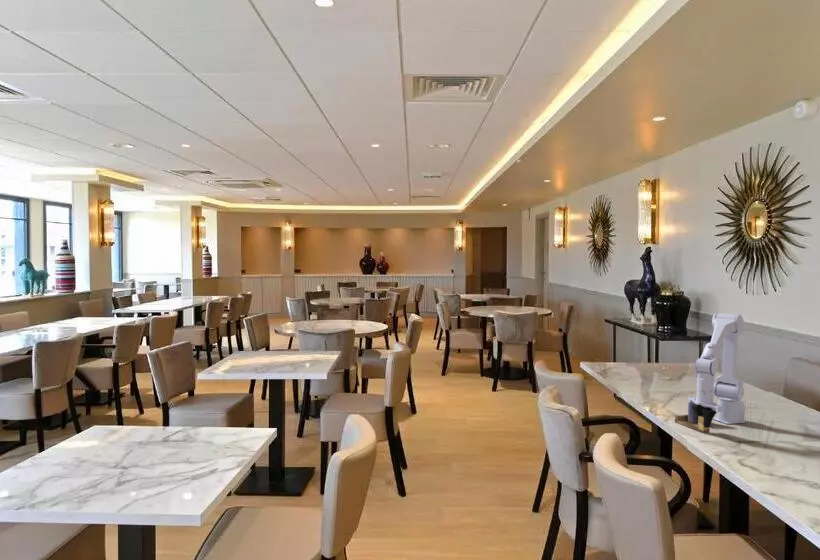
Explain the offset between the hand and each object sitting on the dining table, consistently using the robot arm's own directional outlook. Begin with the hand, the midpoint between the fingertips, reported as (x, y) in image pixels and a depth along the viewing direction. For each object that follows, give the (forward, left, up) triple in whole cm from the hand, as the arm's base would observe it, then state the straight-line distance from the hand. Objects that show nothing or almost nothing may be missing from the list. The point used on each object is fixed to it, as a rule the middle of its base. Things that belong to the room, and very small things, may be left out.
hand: (703, 425), depth 212 cm
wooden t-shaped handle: (-4, -6, -2) cm, 8 cm away
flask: (-8, -11, -3) cm, 14 cm away
